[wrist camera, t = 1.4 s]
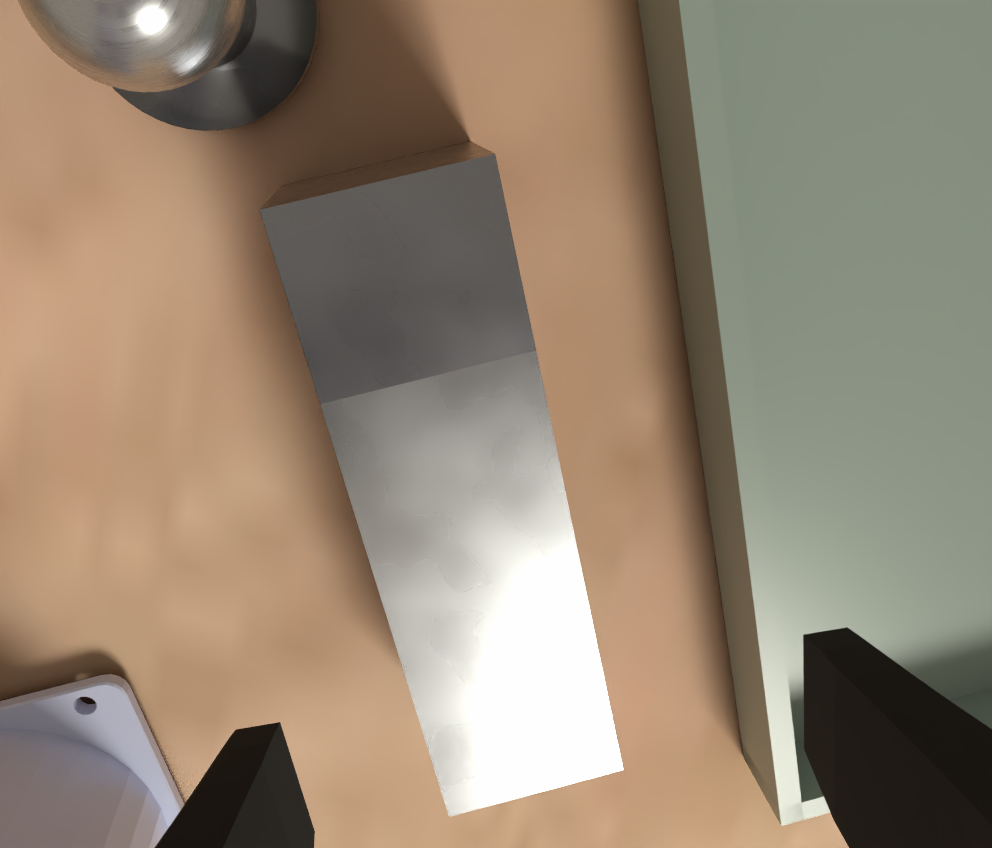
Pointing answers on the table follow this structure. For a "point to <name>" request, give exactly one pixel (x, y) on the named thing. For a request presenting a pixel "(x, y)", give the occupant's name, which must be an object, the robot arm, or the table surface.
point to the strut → (450, 464)
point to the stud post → (186, 53)
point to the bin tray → (835, 336)
